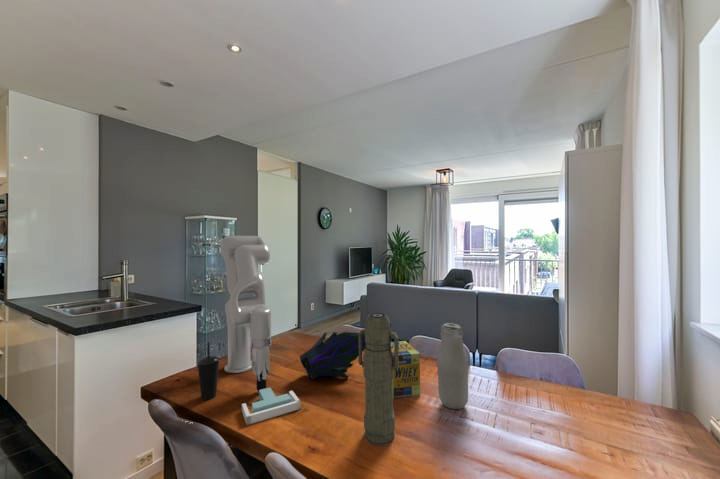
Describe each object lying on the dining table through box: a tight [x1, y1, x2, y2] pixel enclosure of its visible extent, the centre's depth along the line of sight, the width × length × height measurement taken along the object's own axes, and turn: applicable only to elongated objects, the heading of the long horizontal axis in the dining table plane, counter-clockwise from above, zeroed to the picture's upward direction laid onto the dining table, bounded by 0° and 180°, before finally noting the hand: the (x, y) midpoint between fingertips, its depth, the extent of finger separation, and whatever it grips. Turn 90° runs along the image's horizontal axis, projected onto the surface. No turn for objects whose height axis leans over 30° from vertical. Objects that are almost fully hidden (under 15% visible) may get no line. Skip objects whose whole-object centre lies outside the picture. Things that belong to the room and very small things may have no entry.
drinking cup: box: [196, 341, 221, 401], centre depth 112 cm, size 8×8×20 cm
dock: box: [241, 390, 302, 426], centre depth 103 cm, size 9×17×2 cm, turn 120°
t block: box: [251, 387, 291, 414], centre depth 105 cm, size 12×12×4 cm
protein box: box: [391, 340, 421, 400], centre depth 117 cm, size 10×15×16 cm
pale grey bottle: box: [436, 322, 469, 410], centre depth 103 cm, size 10×10×28 cm
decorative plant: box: [299, 331, 366, 380], centre depth 129 cm, size 21×26×30 cm
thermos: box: [358, 312, 400, 447], centre depth 88 cm, size 9×12×35 cm
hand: (261, 389), depth 115 cm, fingers closed
